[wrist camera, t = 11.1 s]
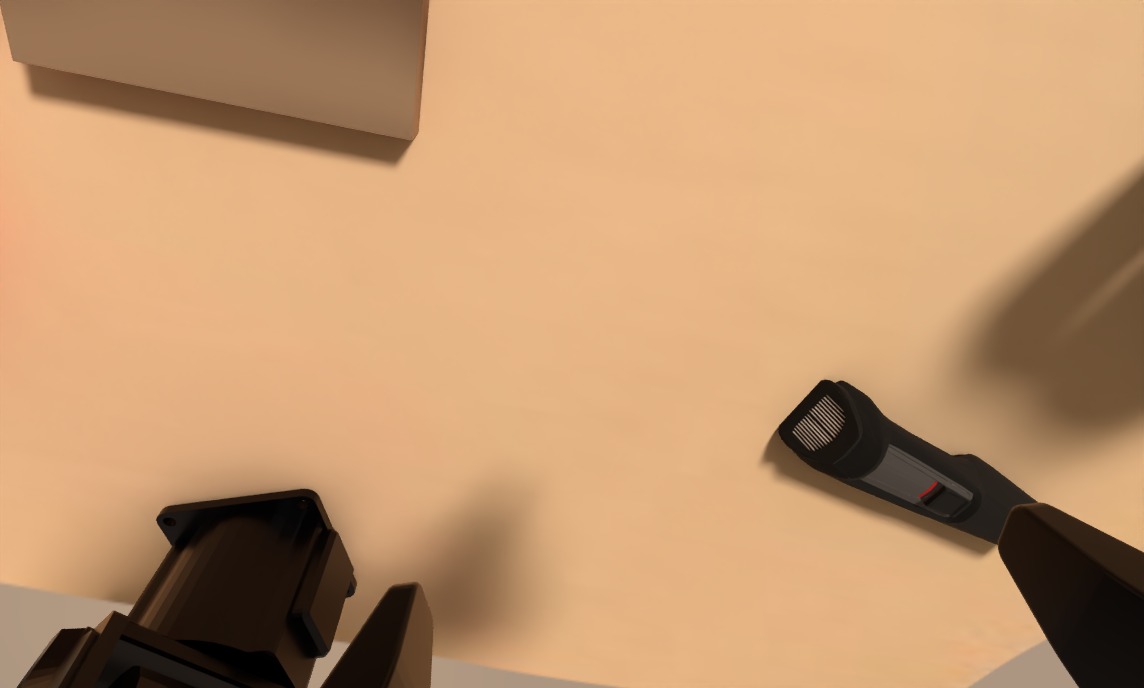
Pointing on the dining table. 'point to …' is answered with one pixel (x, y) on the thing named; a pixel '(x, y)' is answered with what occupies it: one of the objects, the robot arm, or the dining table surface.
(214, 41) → the socket board
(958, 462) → the electric trimmer
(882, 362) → the dining table surface
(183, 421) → the dining table surface
